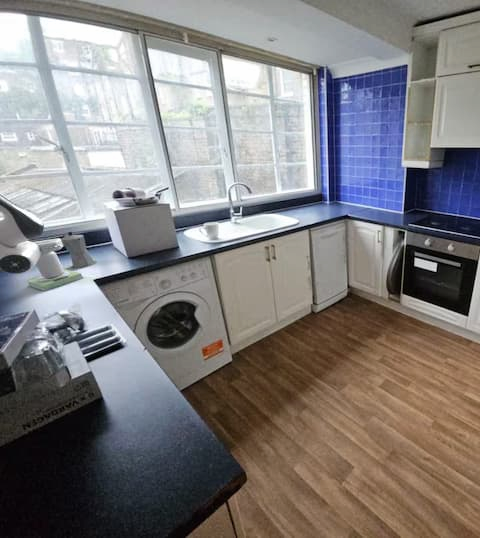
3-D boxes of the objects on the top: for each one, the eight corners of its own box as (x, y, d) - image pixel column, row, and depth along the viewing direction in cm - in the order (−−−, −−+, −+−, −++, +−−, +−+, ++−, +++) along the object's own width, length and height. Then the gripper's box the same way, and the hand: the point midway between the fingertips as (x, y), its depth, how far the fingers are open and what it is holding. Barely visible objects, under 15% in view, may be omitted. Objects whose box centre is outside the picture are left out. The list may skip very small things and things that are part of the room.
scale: (44, 290, 128) (41, 284, 127) (29, 285, 133) (26, 279, 132) (82, 277, 139) (80, 272, 138) (67, 273, 145) (64, 268, 144)
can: (42, 276, 135) (29, 252, 130) (64, 271, 140) (52, 247, 135) (44, 280, 130) (30, 255, 126) (66, 275, 135) (54, 250, 131)
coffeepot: (101, 262, 157) (87, 230, 150) (80, 269, 150) (65, 235, 142) (85, 259, 163) (71, 228, 156) (64, 265, 155) (48, 233, 148)
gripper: (58, 239, 114) (61, 232, 124) (-23, 251, 102) (-12, 242, 112) (64, 254, 117) (67, 246, 126) (-13, 267, 105) (-4, 257, 115)
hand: (29, 244), depth 119 cm, fingers open, 8 cm apart
